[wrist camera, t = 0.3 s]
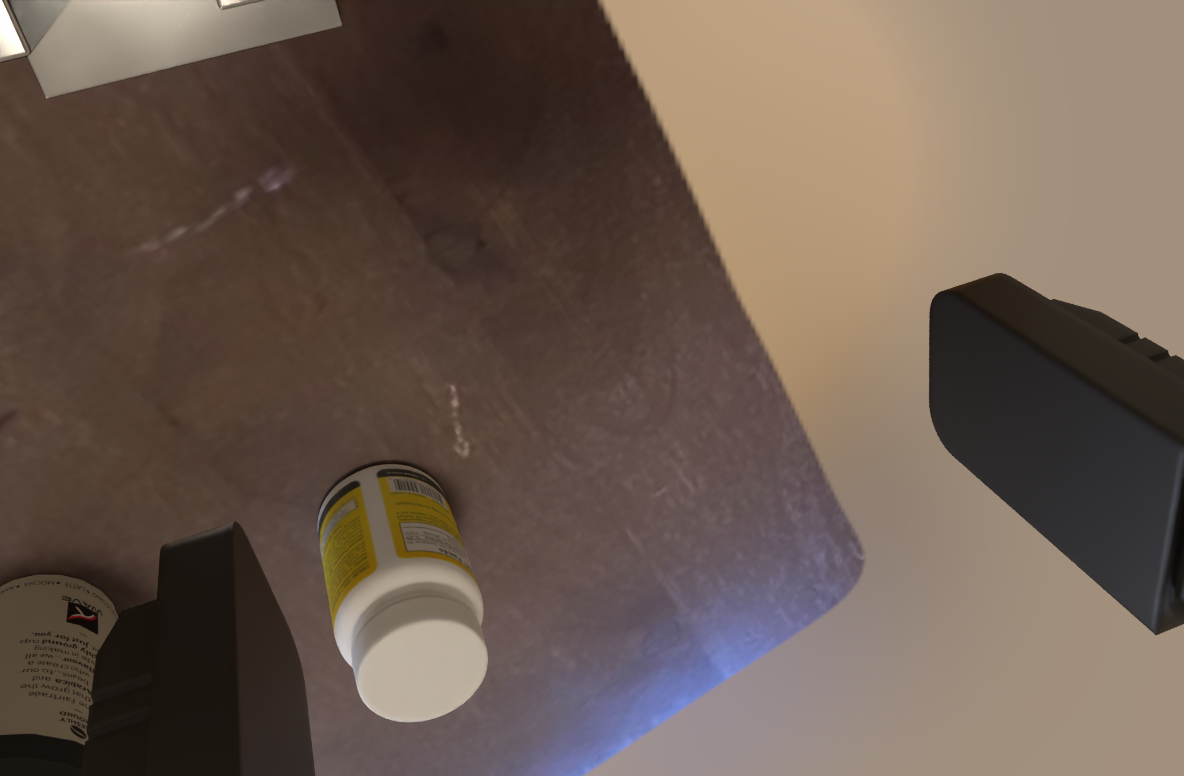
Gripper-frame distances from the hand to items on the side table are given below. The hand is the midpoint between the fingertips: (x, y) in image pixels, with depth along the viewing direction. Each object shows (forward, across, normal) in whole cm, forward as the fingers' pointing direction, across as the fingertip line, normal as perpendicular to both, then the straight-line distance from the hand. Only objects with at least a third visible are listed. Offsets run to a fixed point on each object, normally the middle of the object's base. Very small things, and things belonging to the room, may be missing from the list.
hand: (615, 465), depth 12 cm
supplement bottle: (+23, +4, +16) cm, 28 cm away
